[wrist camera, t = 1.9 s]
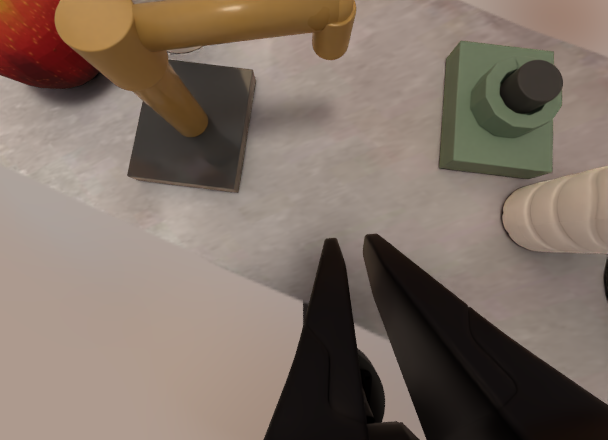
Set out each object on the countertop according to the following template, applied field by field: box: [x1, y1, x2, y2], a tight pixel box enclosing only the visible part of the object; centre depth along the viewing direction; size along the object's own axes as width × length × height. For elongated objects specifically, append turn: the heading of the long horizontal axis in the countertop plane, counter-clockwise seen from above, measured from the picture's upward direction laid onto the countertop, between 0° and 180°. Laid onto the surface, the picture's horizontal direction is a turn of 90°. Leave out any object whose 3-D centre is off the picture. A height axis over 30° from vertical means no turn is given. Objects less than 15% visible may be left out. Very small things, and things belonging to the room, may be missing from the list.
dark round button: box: [500, 60, 563, 114], centre depth 19 cm, size 4×4×2 cm
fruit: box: [0, 0, 99, 89], centre depth 19 cm, size 11×11×10 cm
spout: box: [55, 0, 356, 91], centre depth 13 cm, size 16×4×3 cm, turn 98°
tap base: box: [127, 60, 256, 193], centre depth 19 cm, size 12×10×8 cm
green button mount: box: [439, 41, 562, 179], centre depth 21 cm, size 12×9×4 cm
